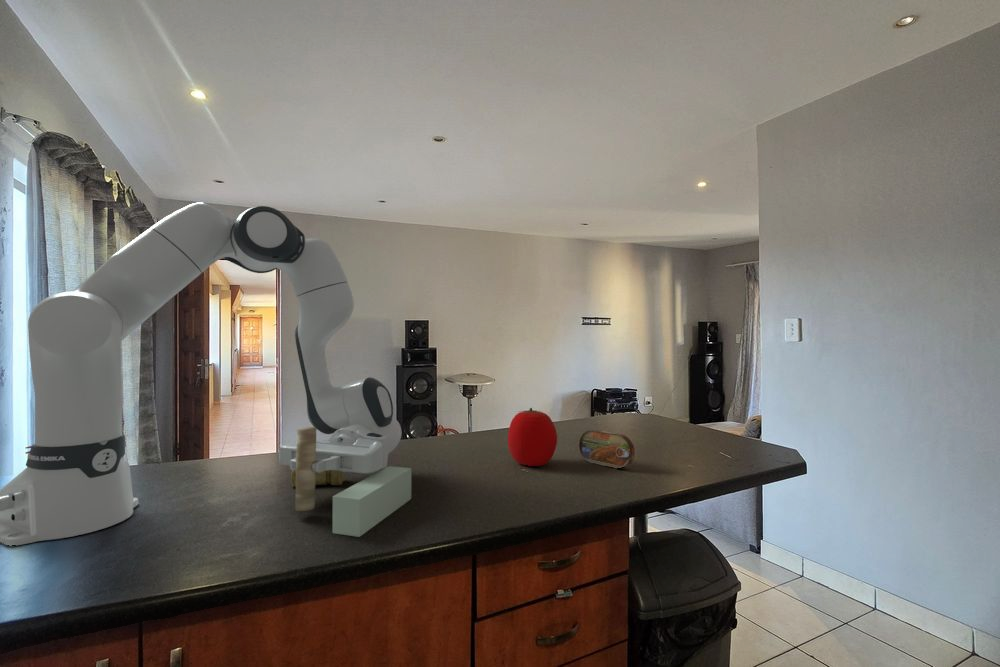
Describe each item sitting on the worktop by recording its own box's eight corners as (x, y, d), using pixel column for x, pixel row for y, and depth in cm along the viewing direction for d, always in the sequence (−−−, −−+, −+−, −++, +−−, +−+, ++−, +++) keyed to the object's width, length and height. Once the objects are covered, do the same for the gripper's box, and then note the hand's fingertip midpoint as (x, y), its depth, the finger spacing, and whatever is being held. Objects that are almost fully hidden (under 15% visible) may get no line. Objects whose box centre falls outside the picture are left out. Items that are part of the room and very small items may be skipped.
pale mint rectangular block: (332, 533, 76) (332, 496, 76) (388, 496, 93) (388, 466, 93) (359, 537, 74) (359, 499, 74) (411, 498, 92) (411, 468, 92)
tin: (578, 460, 121) (578, 427, 121) (585, 458, 123) (585, 426, 123) (629, 473, 110) (629, 437, 110) (636, 470, 112) (636, 435, 112)
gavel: (315, 449, 118) (355, 448, 120) (314, 468, 118) (355, 466, 120) (290, 467, 98) (340, 466, 99) (290, 490, 97) (340, 488, 99)
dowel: (291, 509, 81) (292, 429, 82) (303, 503, 84) (305, 426, 85) (306, 512, 80) (308, 430, 81) (318, 505, 84) (320, 427, 84)
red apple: (498, 466, 115) (498, 408, 115) (519, 455, 125) (519, 402, 125) (545, 473, 109) (546, 413, 109) (563, 462, 119) (563, 406, 119)
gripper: (307, 429, 98) (256, 443, 85) (394, 436, 93) (354, 453, 79) (307, 459, 98) (255, 478, 85) (393, 468, 93) (353, 490, 79)
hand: (303, 466), depth 82 cm, fingers closed on dowel, 3 cm apart
